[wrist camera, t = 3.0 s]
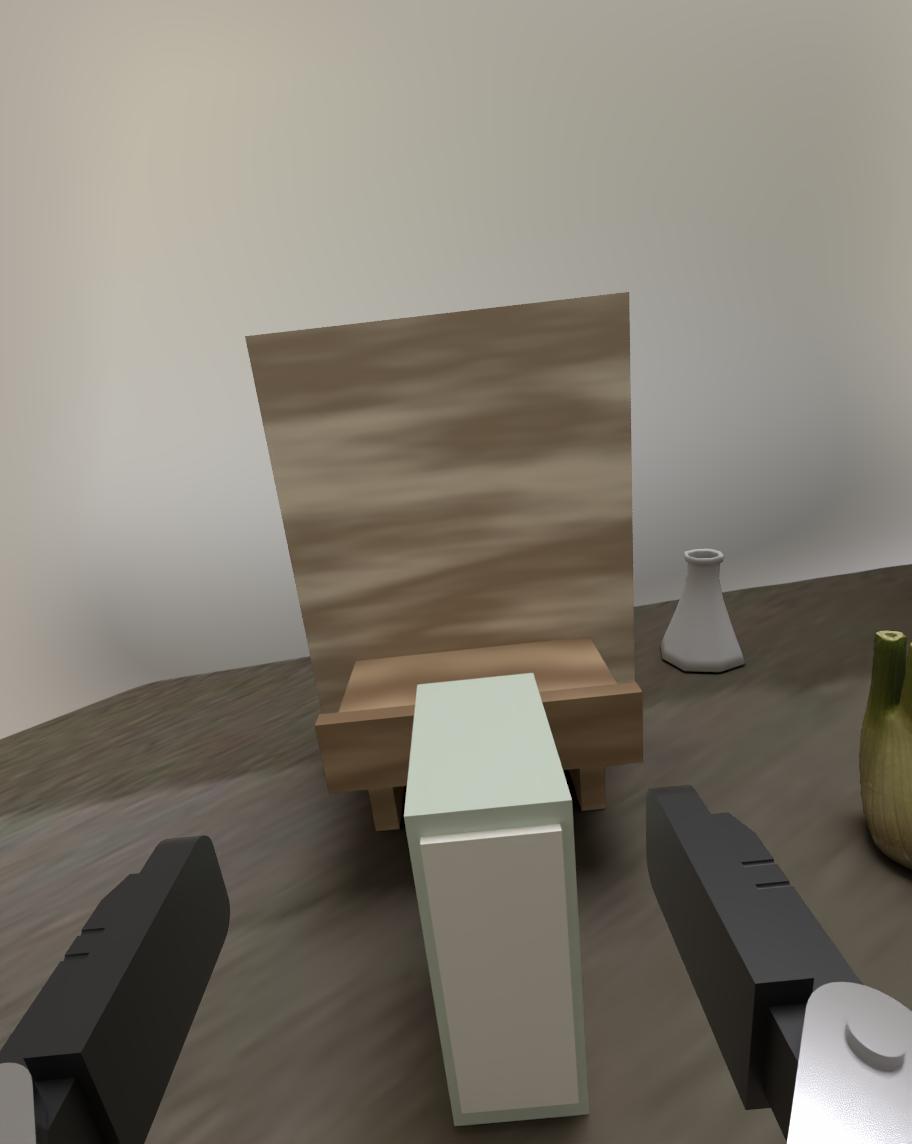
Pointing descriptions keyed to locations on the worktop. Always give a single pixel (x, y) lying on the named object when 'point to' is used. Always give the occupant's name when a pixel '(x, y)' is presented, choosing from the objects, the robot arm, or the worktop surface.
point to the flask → (702, 620)
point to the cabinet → (498, 899)
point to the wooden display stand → (460, 524)
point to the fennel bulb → (889, 749)
